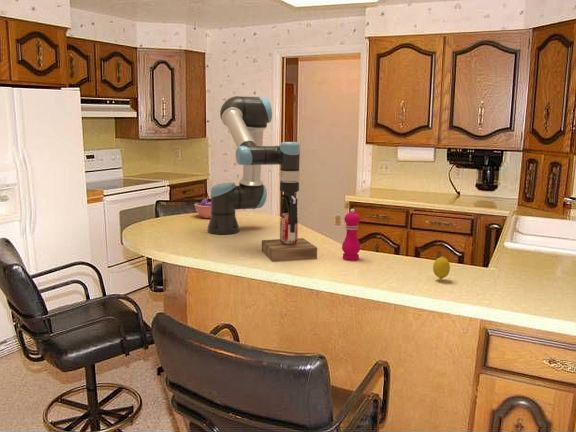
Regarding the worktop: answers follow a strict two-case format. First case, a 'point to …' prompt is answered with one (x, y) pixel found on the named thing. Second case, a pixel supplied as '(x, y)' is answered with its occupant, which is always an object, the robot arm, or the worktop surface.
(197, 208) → the cell model
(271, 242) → the walnut board
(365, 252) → the worktop surface
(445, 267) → the lemon
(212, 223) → the robot arm
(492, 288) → the worktop surface
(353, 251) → the pepper mill
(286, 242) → the soda can
